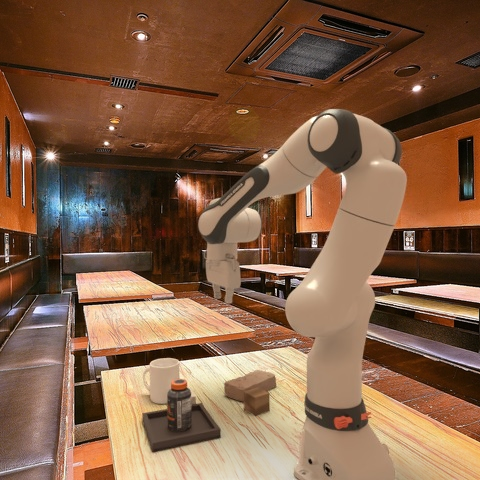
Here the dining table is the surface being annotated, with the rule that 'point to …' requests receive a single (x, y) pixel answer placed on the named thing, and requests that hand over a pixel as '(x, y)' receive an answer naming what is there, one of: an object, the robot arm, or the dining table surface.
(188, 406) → the pill bottle
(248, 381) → the brick
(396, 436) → the dining table surface
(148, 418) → the tray
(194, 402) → the ceramic block
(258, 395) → the walnut cube
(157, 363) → the mug
